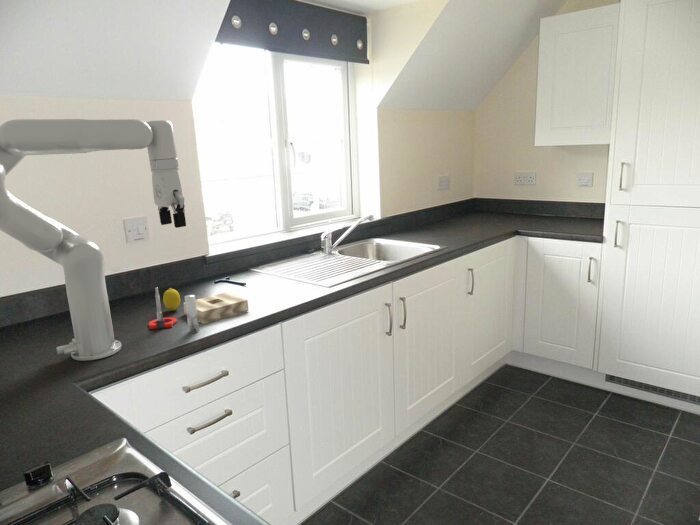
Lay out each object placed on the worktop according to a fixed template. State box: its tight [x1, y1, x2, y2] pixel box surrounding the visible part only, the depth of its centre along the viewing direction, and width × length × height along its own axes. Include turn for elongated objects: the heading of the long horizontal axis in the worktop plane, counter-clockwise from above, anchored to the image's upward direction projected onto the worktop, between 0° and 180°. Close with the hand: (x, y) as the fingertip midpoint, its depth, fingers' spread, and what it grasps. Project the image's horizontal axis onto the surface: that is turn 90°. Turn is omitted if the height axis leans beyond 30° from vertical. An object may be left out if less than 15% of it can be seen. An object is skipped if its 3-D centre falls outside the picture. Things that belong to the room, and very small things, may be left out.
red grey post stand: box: [148, 287, 178, 330], centre depth 163 cm, size 8×13×9 cm
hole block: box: [182, 291, 249, 325], centre depth 172 cm, size 16×14×4 cm
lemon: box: [162, 287, 182, 312], centre depth 176 cm, size 6×6×8 cm
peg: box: [184, 294, 200, 334], centre depth 155 cm, size 3×3×11 cm
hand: (173, 225), depth 151 cm, fingers open, 9 cm apart
